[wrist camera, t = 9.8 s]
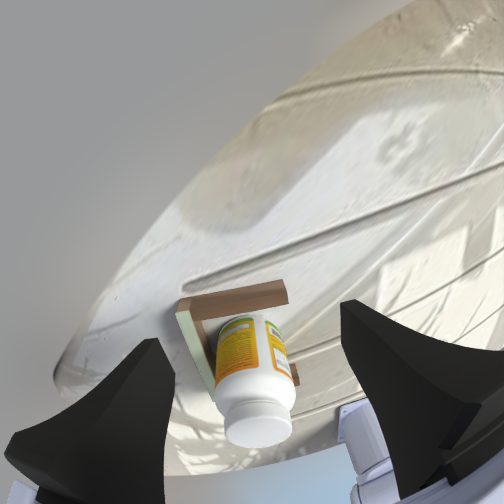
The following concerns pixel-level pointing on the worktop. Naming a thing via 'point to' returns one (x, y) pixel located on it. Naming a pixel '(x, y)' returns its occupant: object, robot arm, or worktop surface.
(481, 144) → the worktop surface
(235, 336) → the supplement bottle
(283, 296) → the dock
